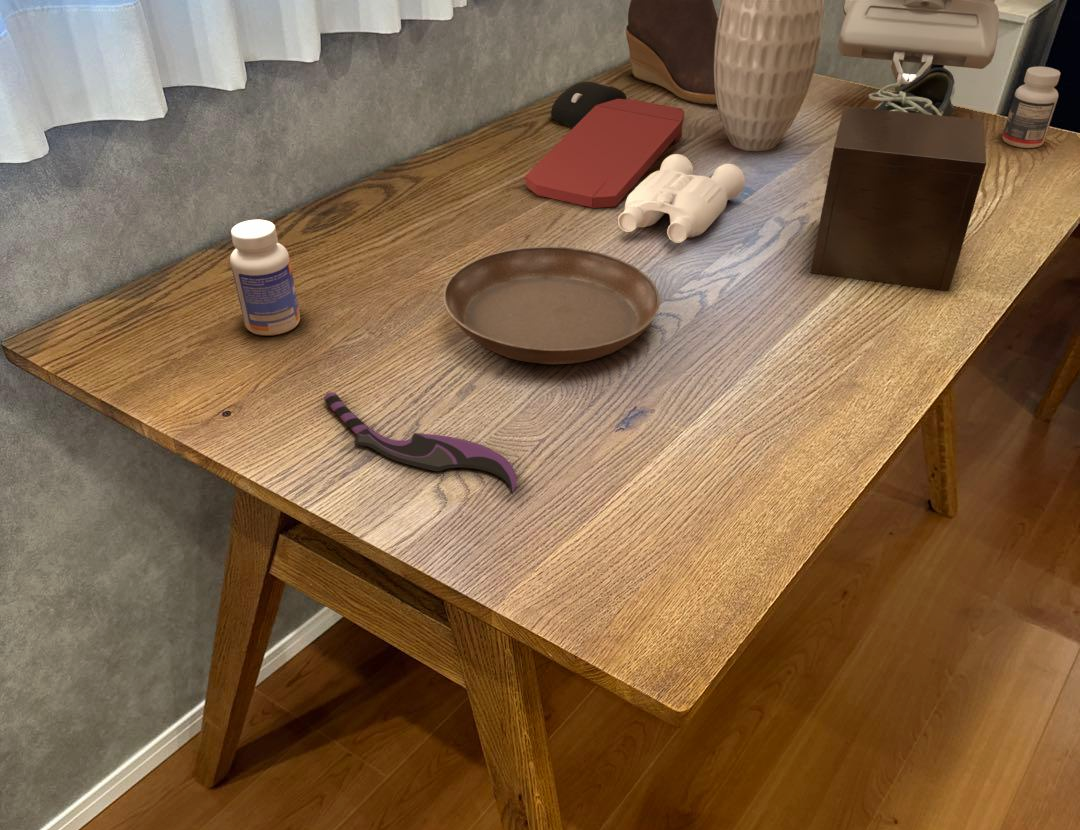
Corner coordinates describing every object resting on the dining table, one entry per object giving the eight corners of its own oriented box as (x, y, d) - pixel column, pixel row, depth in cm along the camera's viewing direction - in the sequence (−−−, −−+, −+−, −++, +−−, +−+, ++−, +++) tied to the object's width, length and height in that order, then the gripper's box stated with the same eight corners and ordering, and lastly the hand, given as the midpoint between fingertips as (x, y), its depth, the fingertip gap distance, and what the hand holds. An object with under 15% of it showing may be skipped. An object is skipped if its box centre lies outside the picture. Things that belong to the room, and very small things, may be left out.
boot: (740, 118, 141) (761, -45, 128) (607, 79, 154) (613, -73, 140) (775, 102, 146) (798, -57, 133) (643, 66, 159) (652, -82, 145)
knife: (331, 396, 89) (295, 427, 86) (329, 388, 89) (293, 420, 86) (537, 467, 82) (506, 504, 79) (537, 459, 81) (505, 496, 78)
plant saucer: (624, 264, 108) (626, 235, 106) (686, 366, 93) (689, 334, 91) (432, 284, 105) (429, 254, 103) (463, 392, 90) (461, 360, 88)
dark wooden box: (949, 241, 112) (984, 119, 104) (949, 291, 104) (986, 163, 95) (821, 225, 116) (843, 105, 107) (810, 272, 107) (834, 146, 98)
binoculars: (743, 201, 120) (748, 162, 117) (695, 256, 110) (699, 214, 107) (661, 185, 124) (664, 147, 121) (606, 236, 113) (608, 195, 110)
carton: (611, 238, 121) (695, 139, 135) (610, 201, 117) (697, 103, 131) (523, 217, 125) (613, 123, 139) (519, 181, 122) (612, 88, 135)
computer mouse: (639, 110, 144) (641, 80, 141) (586, 133, 137) (587, 102, 134) (598, 98, 148) (599, 69, 145) (544, 120, 141) (544, 90, 138)
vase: (684, 142, 135) (707, -108, 116) (746, 119, 141) (777, -121, 123) (760, 169, 128) (798, -91, 109) (821, 144, 134) (867, -106, 115)
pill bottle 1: (311, 323, 99) (296, 228, 93) (264, 343, 96) (244, 247, 90) (280, 303, 102) (263, 210, 96) (233, 322, 99) (212, 228, 93)
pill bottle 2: (1008, 131, 138) (1029, 61, 132) (1048, 139, 135) (1071, 69, 129) (996, 143, 134) (1016, 72, 128) (1036, 152, 132) (1059, 80, 126)
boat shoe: (886, 193, 122) (902, 125, 117) (814, 172, 127) (826, 106, 122) (973, 133, 137) (991, 71, 132) (906, 117, 142) (921, 55, 136)
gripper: (850, -30, 137) (828, 70, 136) (1011, -18, 132) (989, 85, 132) (846, -2, 143) (826, 93, 142) (1000, 11, 138) (979, 109, 138)
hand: (905, 90), depth 137 cm, fingers closed
